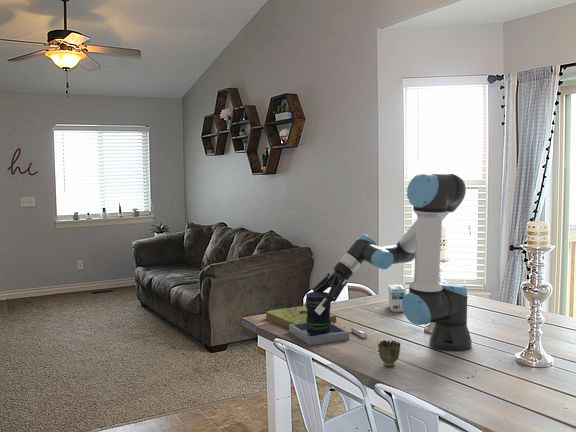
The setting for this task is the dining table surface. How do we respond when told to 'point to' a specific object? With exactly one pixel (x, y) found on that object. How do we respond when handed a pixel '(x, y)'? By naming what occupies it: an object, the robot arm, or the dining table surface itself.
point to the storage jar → (314, 320)
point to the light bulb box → (396, 297)
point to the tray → (312, 339)
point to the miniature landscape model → (291, 315)
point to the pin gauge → (358, 333)
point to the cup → (389, 352)
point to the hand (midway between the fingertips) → (311, 309)
